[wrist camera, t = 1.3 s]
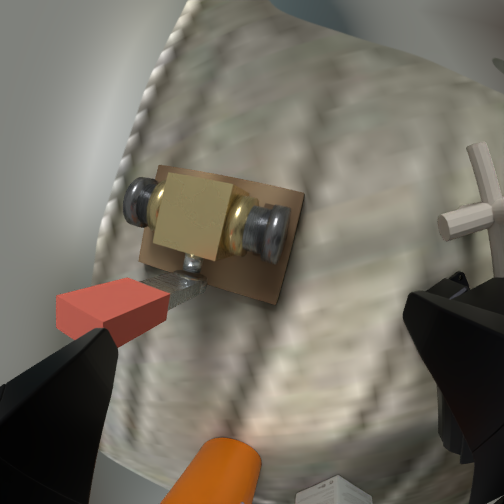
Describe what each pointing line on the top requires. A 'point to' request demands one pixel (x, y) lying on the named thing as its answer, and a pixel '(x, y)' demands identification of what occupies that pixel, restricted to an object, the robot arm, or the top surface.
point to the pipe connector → (480, 209)
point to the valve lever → (126, 305)
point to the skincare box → (333, 493)
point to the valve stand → (216, 228)
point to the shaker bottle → (218, 475)
